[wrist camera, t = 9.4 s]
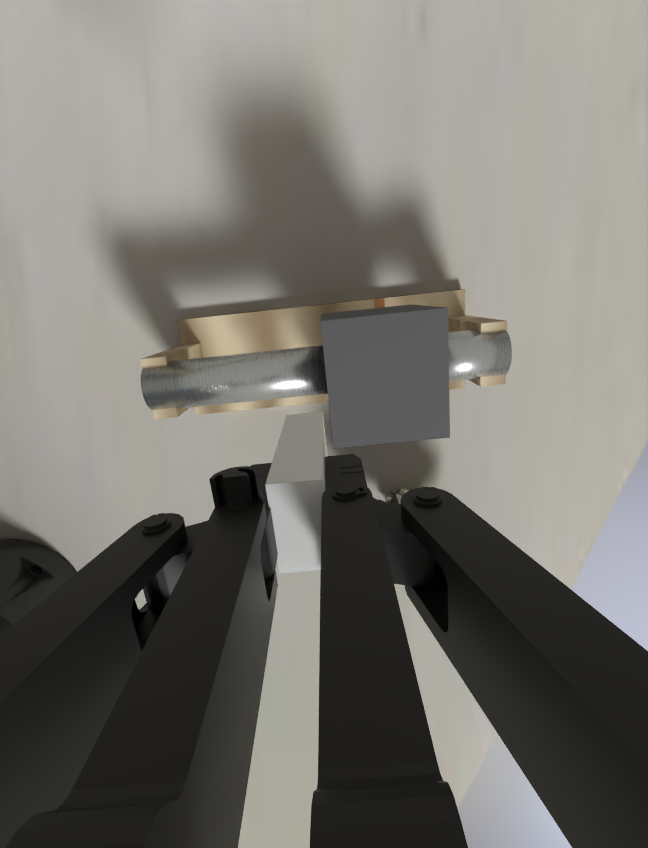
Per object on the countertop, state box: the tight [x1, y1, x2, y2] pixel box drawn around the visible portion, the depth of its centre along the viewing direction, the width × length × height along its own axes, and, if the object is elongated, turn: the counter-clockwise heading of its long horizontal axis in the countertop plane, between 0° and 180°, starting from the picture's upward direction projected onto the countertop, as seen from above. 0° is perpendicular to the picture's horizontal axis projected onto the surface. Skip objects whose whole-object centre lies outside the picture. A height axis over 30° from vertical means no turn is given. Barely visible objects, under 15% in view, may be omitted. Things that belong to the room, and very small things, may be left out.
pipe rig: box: [140, 289, 507, 419], centre depth 38 cm, size 29×10×11 cm, turn 96°
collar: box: [320, 304, 450, 449], centre depth 32 cm, size 8×9×12 cm
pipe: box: [141, 329, 512, 410], centre depth 34 cm, size 29×4×4 cm, turn 96°
